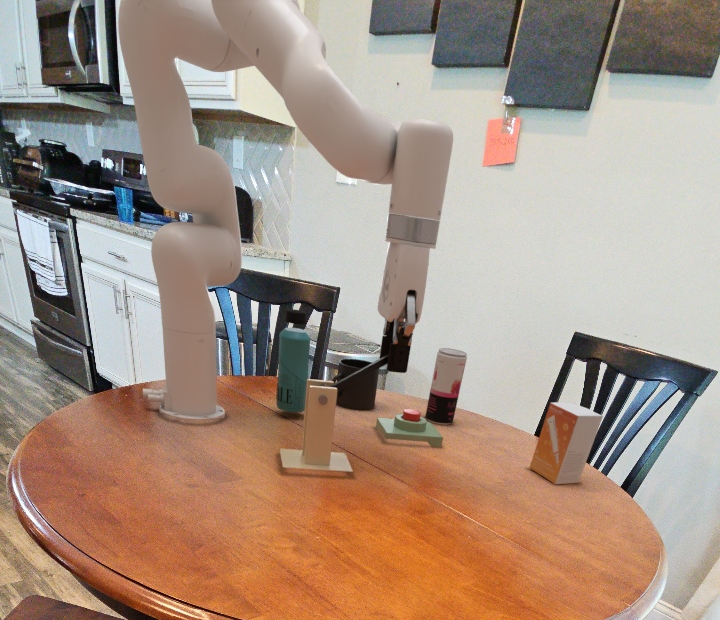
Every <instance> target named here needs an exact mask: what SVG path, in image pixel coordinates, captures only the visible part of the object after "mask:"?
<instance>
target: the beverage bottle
mask: <svg viewBox="0 0 720 620" xmlns="http://www.w3.org/2000/svg"><path fill="white" fill-rule="evenodd" d="M284 319H285V320H284V321H285V322H286V323H289V324H293V325H294V324H295V325H307V311H303V310H300V309H292V308H291V309H286V311H285V317H284ZM278 337H279V345H278V346H279V347H278V354H277V358H278V361H277V381H276V382H277V384H276V397H275V398H276V399H275V401H276V402H275V404H276V407H277V409H279V410H280V411H284V412H287V413H304V412H305V401H306V388H307V379H309V378H308V377H309V373H308V372H309V364H310V363H309V361H310V349H311V348H310V347H311V339H312V338H311V336H310V333H308V331H306V330H305V329H302V328H297V327H285V328H283V329H282V330H281V331H280V332H279V335H278Z"/></svg>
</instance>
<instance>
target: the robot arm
mask: <svg viewBox="0 0 720 620" xmlns="http://www.w3.org/2000/svg"><path fill="white" fill-rule="evenodd" d="M117 17H118V18H117V20H118V21H117V24H118V27H117V29H118V39H119V45H120V50H121V56H122V60H123V63H124V67H125V71H126V75H127V78H128V82H129V87H130V89H131V94H132V99H133V105H134V110H135V117H136V124H137V129H138V135H139V140H140V146H141V151H142V156H143V157H142V158H143V162H144V168H145V169H144V170H145V173H146V174H145V175H146V179H147V184H148V187H149V190H150V193H151V196H152V197H153V200H154V201H155V202H156V203H157V204H158V205H159V206H160V207H161V208H163V209H166V210H168V211H171V212H176V213H183V214H191V216H192V222H189V221H188V222H187V221H172V222H169V223H166V224H163V225H162V226H160V227H159V229H157V231H156V232H155V234H154V236H153V238H152V240H151V241H152V242H151V247H150V248H151V249H150V250H151V251H150V253H151V261H152V266H153V270H154V274H155V279H156V284H157V288H158V289H157V290H158V294H159V303H160V314H161V315H160V316H161V327H162V338H163V339H162V342H163V357H164V359H163V360H164V375H165V385H164V388H161V387H160V388H159V389H153V388H142V399H143V400H147V402H149V403H150V402H151V403H160V404H159V406H158V413H160V414H166V415H167V416H168V415H169V416H171V417H174V418H180V419H188V420H212V419H216V418H217V419H218V418H219V419H224V418H225V416H226V411H225V409H224V407H222V406H221V405H219V404H218V395H217V393H218V389H217V387H218V386H217V383H218V382H217V330H216V327H217V326H216V312H215V308H214V305H213V301H212V299H211V296H210V292H209V289H208V288H211V287H212V288H213V287H225V286H228V285H231V284H232V283H234V282H235V281H236V280H237V278H238V277H239V275H240V274H241V269H242V264H243V249H242V238H241V237H242V236H241V227H240V220H239V212H238V203H237V194H236V188H235V187H236V186H235V182H234V179H233V175H232V172H231V170H230V168H229V166H228V164H227V163H226V161H225V159H224V158H223V156H222V155H221V154H220V153H218V152H217V151H216V150H214V149H212V148H211V147H208V146H205V145H201V144H198V141H197V139H196V134H195V128H194V123H193V121H194V120H193V116H192V115H193V112H192V106H191V103H190V99H189V95H188V92H187V89H186V87H185V84H184V82H183V80H182V77H181V76H180V73H179V71H178V68H177V65H176V61H177V59H178V60H181V61H183V62H185V63H188V64H190V65H193V66H195V67H198V68H200V69H203V70H205V71H209V72H213V73H224V72H225V73H226V72H232V71H238V70H240V69H246V68H251V67H255V68H256V69H257V71H258V72H259V73H261V75H262V76H263V77H264V78H265V80H267V82H268V83H269V84H270V85H271V87H273V89H274V90H275V91H276V92H277V94H278V95H279V96H280V97H281V98H282V99H283V102H284V106H285V107H286V110H287V111H288V112H289V115H290V117H291V119H292V120H293V122H294V124H295V125H296V127H297V128H298V130H299V131H300V132H301V134H302V135H303V136H304V137H305V138H306V139H307V141H308V142H309V143H310V144H311V146H313V147H314V148H315V149H316V151H317V152H318V153H319V154H320V155H321V156H322V158H324V160H325V161H326V162H327V163H328V164H329V165H330V166H331V167H332V168H333V169H334V170H335V171H337V172H338V173H339V174H341V175H342V176H344V177H347V178H349V179H353V180H357V181H362V182H365V183H366V184H367V183H368V184H373V185H378V186H387V185H389V186H390V185H391V189H390V196H389V203H388V205H389V206H388V214H387V221H386V228H385V238H384V241H385V242H387V243H388V246H387V249H386V255H385V260H384V264H383V265H384V266H383V271H382V277H381V284H380V289H379V297H378V302H377V312H378V314H379V315H380V316H381V317H382V318H383V319H384V325H383V331H382V336H381V337H382V338H381V344H380V351H379V359H380V358H382V357H384V356H386V355H387V354H389V356H388V363H387V364H386V370H387V372H388V373H399V374H406V373H407V372H408V366H409V361H410V354H411V348H412V342H413V334H414V330H415V328H416V324H418V323H419V322H420V321H421V316H422V313H423V307H424V301H425V295H426V288H427V287H426V286H427V279H428V272H429V261H430V253H431V249H432V250H433V249H434V250H436V248H437V243H438V237H439V230H440V225H441V219H442V212H443V205H444V199H445V194H446V187H447V181H448V175H449V169H450V164H451V158H452V152H453V145H454V131H453V130H452V128H451V126H450V125H448V124H447V123H445V122H442V121H439V120H435V119H430V118H421V117H411V118H407V119H405V120H403V122H401V121H397V120H394V119H392V118H390V117H387V116H385V115H383V114H382V113H380V112H377V111H375V110H373V109H371V108H369V107H366V106H364V104H363V103H361V101H360V100H359V99H358V98H356V96H355V95H354V94H353V93H352V91H350V90H349V88H348V87H347V86H346V85H345V84H344V83H343V81H342V80H341V79H340V78H339V77H338V76H337V74H336V73H335V72H334V71H333V70H332V68H331V67H330V66H329V64H328V63H327V61H326V58H327V57H326V56H327V49H326V42H325V39H324V37H323V35H322V34H321V32H320V31H319V30H318V29H317V28H316V26H315V25H314V24H313V23H312V21H310V20H309V19H308V18H307V16H306V15H305V14H304V13H303V12H302V10H301V7H300V4H299V1H298V0H120V2H119V7H118V16H117ZM388 347H390V349H388Z"/></svg>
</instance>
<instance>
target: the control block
mask: <svg viewBox="0 0 720 620" xmlns="http://www.w3.org/2000/svg"><path fill="white" fill-rule="evenodd" d="M402 417H403V413H397V414H395V416H394V418H386V417H376V423H375V429H376V431H381V433H382V435H383V436H384V438H385V439H388V440H400V441H413V442H427V443H428V445H429V446H430V447H431V448H439V449H440V448H442V445H443V440H444V436H443V435H442V434H441V433H440V432H439V430H438V429H437V428H436V427H435V426H434V424H433V423H432V422H429V421H428V420H427V419H426V418H424V417H422V416H420V421H419V422H412V421H407V420H404V419H402Z"/></svg>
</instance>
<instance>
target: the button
mask: <svg viewBox="0 0 720 620" xmlns="http://www.w3.org/2000/svg"><path fill="white" fill-rule="evenodd" d="M402 414H403V417H402V419H404V420H407V421H412V422H419V421H420V417H421V415H422V413H421V411H420V410H417V409H412V408H406V409H403V412H402Z"/></svg>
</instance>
